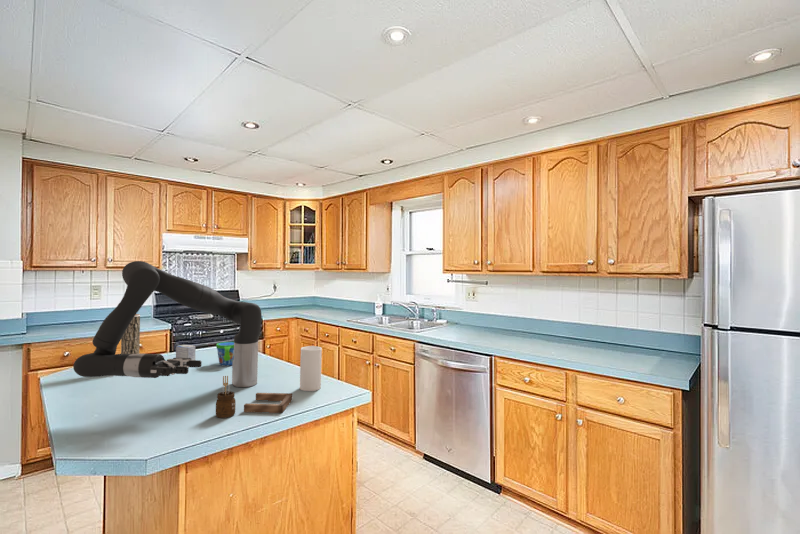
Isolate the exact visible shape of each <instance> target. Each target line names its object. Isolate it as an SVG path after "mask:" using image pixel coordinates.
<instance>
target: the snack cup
mask: <svg viewBox="0 0 800 534" xmlns="http://www.w3.org/2000/svg"><path fill="white" fill-rule="evenodd" d="M215 347H216V350H217V358H218V364H219V365H220V366H222V365H225V367H227V366H226V365H229V366H232V362H233V360H234V341H222V342H217V343H216V344H215Z"/></svg>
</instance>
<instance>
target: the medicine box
mask: <svg viewBox="0 0 800 534" xmlns="http://www.w3.org/2000/svg"><path fill="white" fill-rule="evenodd" d="M175 358H191V360H196V345H190V344H180V345H177V346H175ZM184 363H185V364H186V362H184Z"/></svg>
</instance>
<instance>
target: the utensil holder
mask: <svg viewBox="0 0 800 534" xmlns="http://www.w3.org/2000/svg"><path fill="white" fill-rule="evenodd" d="M227 386H228V389H227ZM216 398H217V399H216V402H215V416H216V417H217V418H219V419H226V418H231V417H233V416H235V414H236V398H235V392H234V391H231V390H230V384H229V375H223V376H222V391H221V392H218V393H217V396H216Z"/></svg>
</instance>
